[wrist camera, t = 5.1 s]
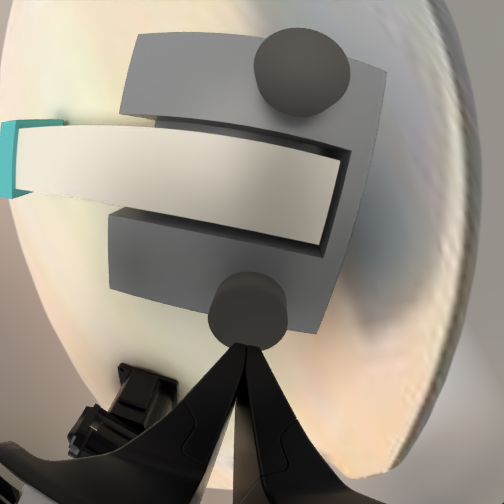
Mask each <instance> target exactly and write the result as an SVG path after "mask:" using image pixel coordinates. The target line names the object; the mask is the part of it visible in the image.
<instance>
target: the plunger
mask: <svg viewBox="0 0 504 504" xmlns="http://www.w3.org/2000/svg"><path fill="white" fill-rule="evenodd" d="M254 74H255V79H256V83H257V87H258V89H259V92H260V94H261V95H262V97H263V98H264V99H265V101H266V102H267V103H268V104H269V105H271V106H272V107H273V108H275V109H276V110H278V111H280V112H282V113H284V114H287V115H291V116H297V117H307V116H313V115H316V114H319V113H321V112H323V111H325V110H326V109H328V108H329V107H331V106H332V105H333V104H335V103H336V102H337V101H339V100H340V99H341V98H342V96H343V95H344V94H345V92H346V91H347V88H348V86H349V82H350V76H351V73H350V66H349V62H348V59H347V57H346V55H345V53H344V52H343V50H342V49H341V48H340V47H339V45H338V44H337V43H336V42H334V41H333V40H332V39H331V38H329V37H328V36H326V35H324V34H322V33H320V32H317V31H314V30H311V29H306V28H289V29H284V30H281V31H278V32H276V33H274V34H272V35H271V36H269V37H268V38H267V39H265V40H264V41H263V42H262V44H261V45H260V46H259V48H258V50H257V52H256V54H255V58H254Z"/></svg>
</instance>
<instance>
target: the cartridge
mask: <svg viewBox="0 0 504 504" xmlns="http://www.w3.org/2000/svg"><path fill="white" fill-rule="evenodd" d="M63 121H64V120H54V119H33V120H13V121H7V122H2V123H1V131H0V197H4V198H9V199H13V198H16V197H19V196H22V195H25V194H28V193H31V192H40V193H47V194H53V195H59V196H66V197H72V198H78V199H84V200H90V201H96V202H102V203H108V204H113V205H119V206H125V207H130V208H136V209H142V210H147V211H153V212H158V213H163V214H169V215H174V216H179V217H185V218H190V219H195V220H200V221H205V222H211V223H216V224H221V225H226V226H231V227H236V228H241V229H246V230H251V231H255V232H260V233H265V234H270V235H275V236H279V237H284V238H289V239H294V240H298V241H303V242H307V243H312V244H317V245H319V243H320V239H321V236H322V232H323V229H324V225H325V221H326V217H327V214H328V210H329V206H330V202H331V198H332V194H333V190H334V186H335V182H336V178H337V174H338V170H339V165H340V161H339V160H335V159H332V158H328V157H324V156H320V155H316V154H312V153H308V152H304V151H300V150H296V149H292V148H287V147H283V146H278V145H273V144H268V143H263V142H258V141H253V140H247V139H241V138H236V137H229V136H223V135H216V134H209V133H202V132H194V131H185V130H176V129H165V128H153V127H137V126H114V125H70V126H63Z"/></svg>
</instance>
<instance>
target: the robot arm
mask: <svg viewBox="0 0 504 504" xmlns="http://www.w3.org/2000/svg"><path fill="white" fill-rule="evenodd" d="M118 372H119V377H120V382H121V388H120V390H119V392H118V394H117V396H116V397H115V399H114V401H113V403H112V405H111V407H110V409H109V410H108V412H107V411H105V410H104V409H102V408H101V407H100V406H99V405H98V404H95V405H94V407H88V406H87V407H86V408H85V410H84V411H83V413H82V415H81V416H80V418H79V419H78V421H77V422H76V424H75V425H74V427H73V428H72V429H71V431H70V432H69V434H68V436H67V438H68V441H69V443H70V445H69V448H70V450H69V452H68V455H69V456H70V457H72V458H74V459H69V460H61V461H49V460H43V459H40V458H37V457H36V456H34V455H32V454H30V453H29V452H28V451H26V450H25V449H23V448H22V447H20V446H19V445H18V444H16V443H15V442H12V441H8V442H3V443H0V463H1V464H2V465H3V466H5V467H6V468H7V469H8V470H9V471H10V472H11V473H13V474H14V475H15V476H16V477H18V478H19V479H20V480H21V481H23V482H24V483H25V485H24V487H23V489H22V491H21V493H19V491H18V490H17V489H16V488H15V487H13V486H12V485H11V484H9V483H8V482H7V481H6V480H5V479H4V478H2V477H1V476H0V504H200V502H201V499H202V496H203V494H204V491H205V489H206V486H207V483H208V480H209V478H210V475H211V472H212V469H213V467H214V464H215V461H216V458H217V455H218V452H219V450H220V447H221V444H222V441H223V438H224V435H225V432H226V429H227V426H228V423H229V420H230V417H231V414H232V411H233V408H234V405H235V429H234V470H233V504H385V503H383V502H380V501H378V500H375V499H372V498H370V497H368V496H365V495H363V494H360V493H358V492H356V491H354V490H352V489H350V488H349V487H348V486H346V485H345V484H344V483H343V482H342V481H341V480H340V479H339V477H338V476H337V475H336V474H335V473H334V471H333V470H332V469H331V468H330V466H329V465H328V464H327V463H326V461H325V460H324V459H323V457H322V456H321V455H320V454H319V452H318V451H317V450H316V448H315V447H314V445H313V444H312V443H311V441H310V440H309V438H308V437H307V435H306V433H305V432H304V430H303V428H302V426H301V425H300V423H299V421H298V420H297V419H296V416H295V414H294V412H293V410H292V408H291V406H290V405H289V403H288V401H287V399H286V397H285V395H284V393H283V392H282V390H281V388H280V386H279V384H278V382H277V380H276V378H275V376H274V374H273V373H272V371H271V369H270V367H269V365H268V363H267V361H266V359H265V357H264V355H263V353H262V351H261V349H260V348H259V347H258V346H253V345H247V346H246V344H242V343H237V342H235V343H234V344H233V345H232V346H231V347H230V348H229V349H228V350H227V351H226V352H225V354H224V355H223V356H222V357H221V358H220V359H219V360H218V361H217V362H216V364H215V365H214V366H213V367H212V368H211V369H210V370H209V371H208V372H207V373H206V374H205V375H204V377H203V378H202V379H201V380H200V381H199V382H198V383H197V384H196V385H195V386H194V387H193V388H192V389H191V390H190V391H189V392H188V394H187V395H186V396H185V397H184V398H183V400H181V401H180V402H179V403H178V382H177V381H175V380H172V379H168V378H165V377H161V376H158V375H155V374H151V373H148V372H145V371H142V370H139V369H136V368H133V367H130V366H127V365H124V364H120V365H119V366H118ZM235 401H236V403H235ZM91 426H92V427H94V428H95V429H97V431H96V430H94V429H93V428H91ZM502 504H504V503H502Z"/></svg>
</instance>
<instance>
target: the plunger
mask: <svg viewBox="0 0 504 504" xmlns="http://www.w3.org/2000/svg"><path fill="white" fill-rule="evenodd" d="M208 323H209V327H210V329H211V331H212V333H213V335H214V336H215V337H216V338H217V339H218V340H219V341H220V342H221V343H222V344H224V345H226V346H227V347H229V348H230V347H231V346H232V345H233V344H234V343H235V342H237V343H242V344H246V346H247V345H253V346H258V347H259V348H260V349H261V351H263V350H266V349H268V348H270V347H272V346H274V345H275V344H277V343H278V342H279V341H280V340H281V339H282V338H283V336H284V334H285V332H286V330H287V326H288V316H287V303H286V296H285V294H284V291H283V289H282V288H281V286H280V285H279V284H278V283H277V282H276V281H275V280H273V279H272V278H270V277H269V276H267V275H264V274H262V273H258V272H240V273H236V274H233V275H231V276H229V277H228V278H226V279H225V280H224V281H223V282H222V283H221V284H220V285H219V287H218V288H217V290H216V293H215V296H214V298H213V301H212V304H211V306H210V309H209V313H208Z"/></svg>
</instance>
